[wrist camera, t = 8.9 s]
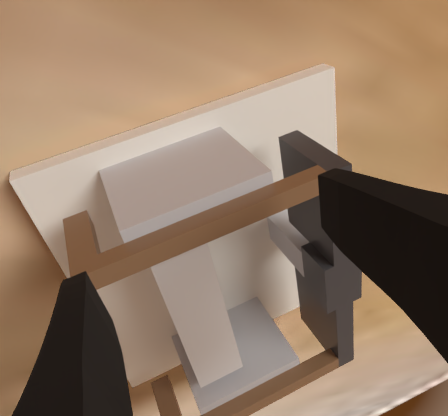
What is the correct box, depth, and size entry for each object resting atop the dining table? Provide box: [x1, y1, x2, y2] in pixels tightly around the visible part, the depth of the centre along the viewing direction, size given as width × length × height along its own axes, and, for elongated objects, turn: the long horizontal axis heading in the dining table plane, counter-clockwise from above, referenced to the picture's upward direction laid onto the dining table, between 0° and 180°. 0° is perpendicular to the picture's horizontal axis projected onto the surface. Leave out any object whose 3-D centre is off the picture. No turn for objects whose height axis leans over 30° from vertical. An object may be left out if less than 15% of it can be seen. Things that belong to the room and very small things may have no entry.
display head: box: [9, 63, 337, 415], centre depth 21 cm, size 16×16×6 cm
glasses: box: [63, 130, 362, 416], centre depth 20 cm, size 12×13×4 cm
